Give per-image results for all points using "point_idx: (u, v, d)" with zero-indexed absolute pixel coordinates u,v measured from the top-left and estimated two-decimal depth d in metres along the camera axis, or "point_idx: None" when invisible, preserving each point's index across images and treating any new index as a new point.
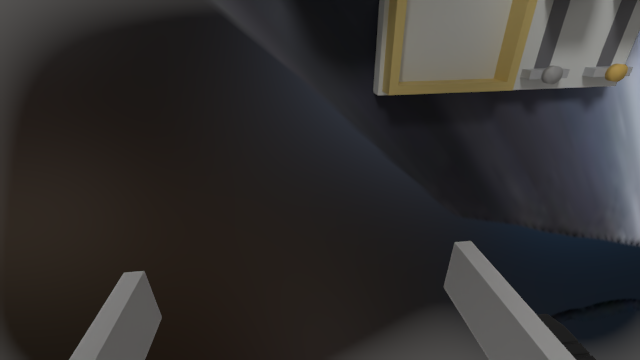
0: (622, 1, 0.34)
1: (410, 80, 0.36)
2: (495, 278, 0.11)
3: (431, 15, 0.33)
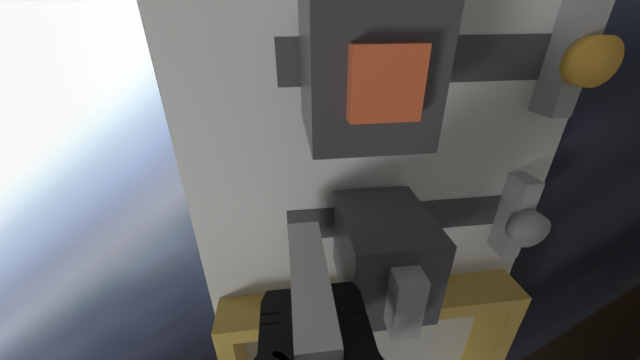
0: None
1: None
2: (316, 251, 0.13)
3: None
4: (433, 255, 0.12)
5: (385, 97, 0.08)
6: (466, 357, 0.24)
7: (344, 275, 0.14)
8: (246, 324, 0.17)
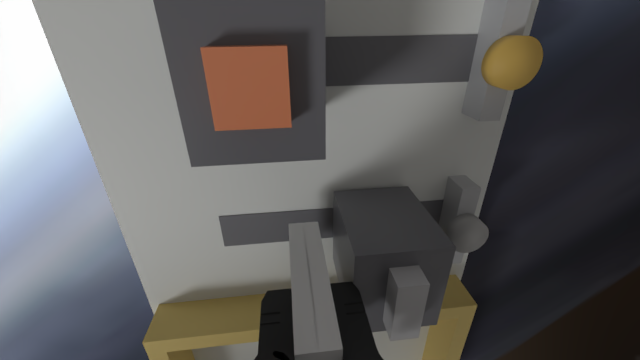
0: None
1: None
2: (316, 251, 0.13)
3: None
4: (432, 255, 0.12)
5: (247, 102, 0.08)
6: None
7: (343, 275, 0.14)
8: (180, 331, 0.16)
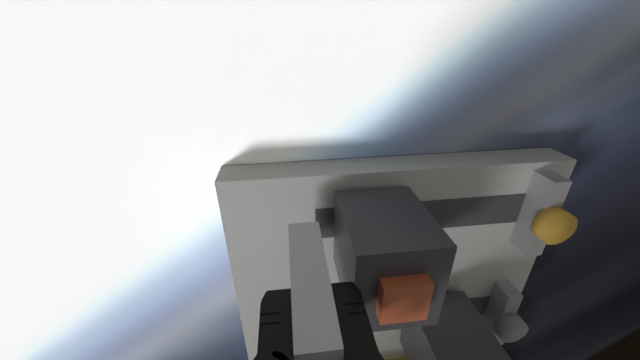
0: None
1: None
2: (317, 251, 0.13)
3: None
4: None
5: (403, 311, 0.12)
6: None
7: None
8: None
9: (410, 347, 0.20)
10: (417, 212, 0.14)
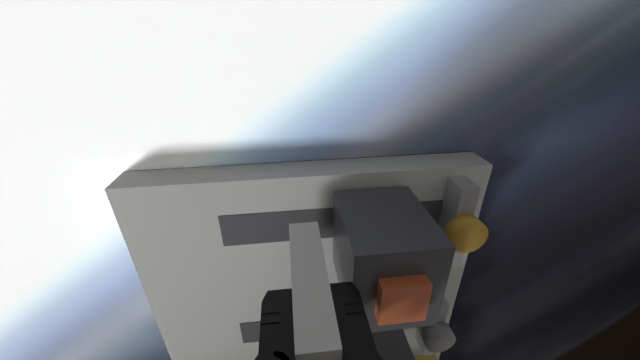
0: (320, 236, 0.17)
1: None
2: (315, 251, 0.13)
3: None
4: None
5: (402, 311, 0.12)
6: None
7: None
8: None
9: None
10: (416, 213, 0.14)
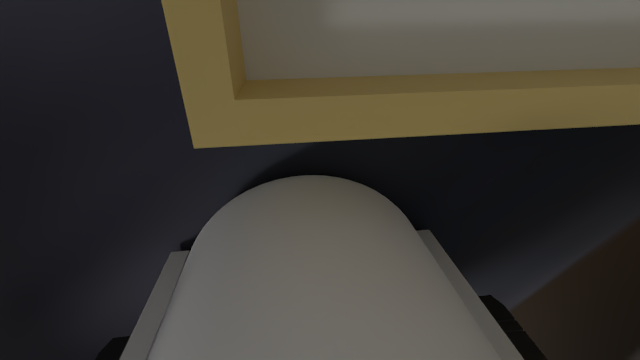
0: None
1: None
2: (445, 262, 0.12)
3: None
4: None
5: None
6: None
7: None
8: None
9: None
10: None
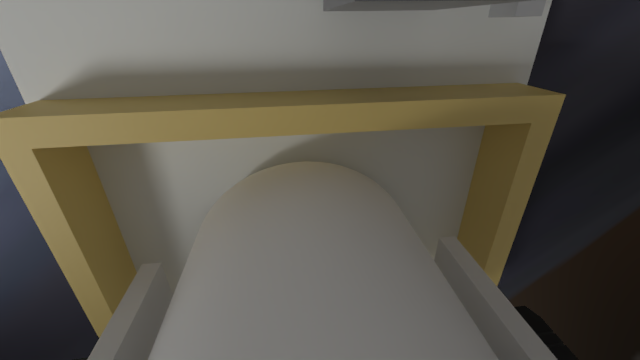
0: None
1: None
2: (476, 271, 0.11)
3: None
4: None
5: None
6: None
7: None
8: (56, 112, 0.09)
9: None
10: None
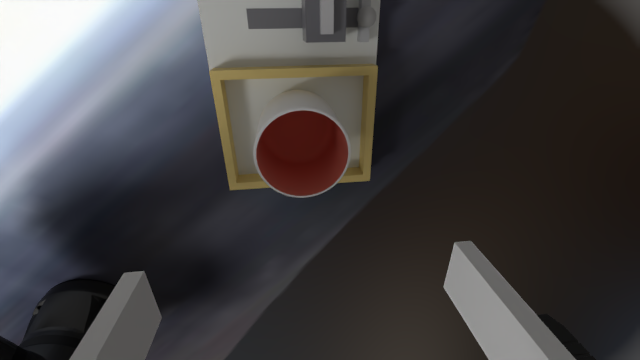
0: None
1: (358, 151, 0.42)
2: (495, 278, 0.11)
3: None
4: None
5: None
6: (361, 134, 0.40)
7: (304, 23, 0.31)
8: (227, 69, 0.33)
9: (303, 25, 0.32)
10: None
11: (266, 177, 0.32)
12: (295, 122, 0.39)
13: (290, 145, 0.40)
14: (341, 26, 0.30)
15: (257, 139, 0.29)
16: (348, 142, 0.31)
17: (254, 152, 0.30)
